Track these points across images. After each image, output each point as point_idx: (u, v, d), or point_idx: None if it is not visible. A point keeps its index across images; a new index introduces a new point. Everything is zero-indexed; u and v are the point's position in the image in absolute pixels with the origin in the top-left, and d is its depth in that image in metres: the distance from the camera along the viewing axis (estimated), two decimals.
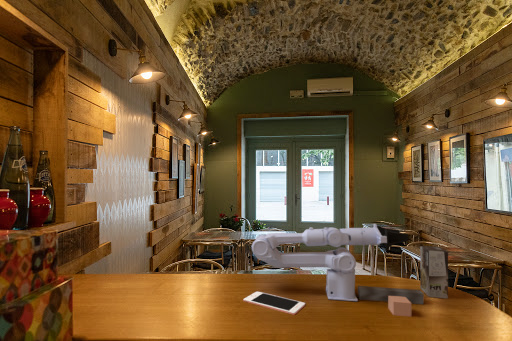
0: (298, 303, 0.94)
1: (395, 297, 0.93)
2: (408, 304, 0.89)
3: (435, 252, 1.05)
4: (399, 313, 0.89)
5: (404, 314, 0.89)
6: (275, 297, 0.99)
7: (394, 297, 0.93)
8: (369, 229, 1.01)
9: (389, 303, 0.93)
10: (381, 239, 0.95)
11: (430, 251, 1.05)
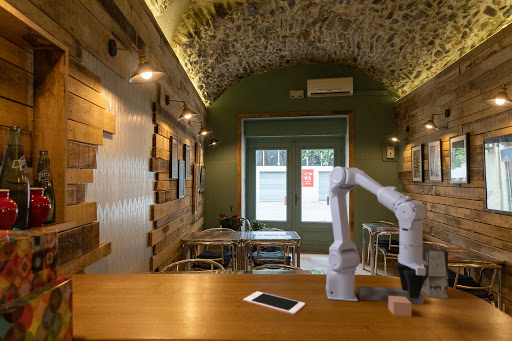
0: (298, 303, 0.94)
1: (395, 297, 0.93)
2: (408, 304, 0.89)
3: (435, 252, 1.05)
4: (399, 313, 0.89)
5: (404, 314, 0.89)
6: (275, 297, 0.99)
7: (394, 297, 0.93)
8: None
9: (389, 303, 0.93)
10: (421, 268, 0.76)
11: (430, 251, 1.05)
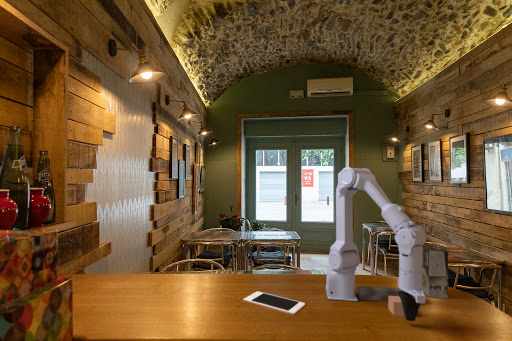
0: (298, 303, 0.94)
1: (395, 297, 0.93)
2: None
3: (435, 252, 1.05)
4: (399, 313, 0.89)
5: None
6: (275, 297, 0.99)
7: (394, 297, 0.93)
8: (421, 281, 0.82)
9: (389, 303, 0.93)
10: (421, 296, 0.76)
11: (430, 251, 1.05)
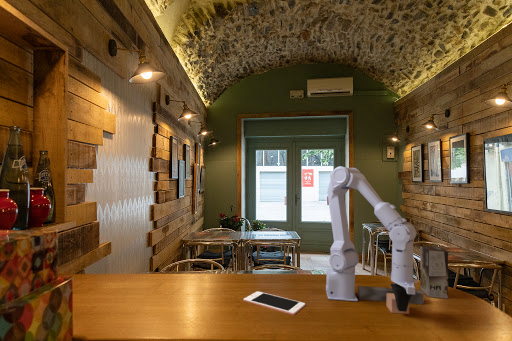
0: (298, 303, 0.94)
1: (393, 294, 0.95)
2: None
3: (435, 252, 1.05)
4: (397, 310, 0.91)
5: (402, 311, 0.90)
6: (275, 297, 0.99)
7: (392, 294, 0.94)
8: (412, 274, 0.88)
9: (387, 301, 0.95)
10: (411, 288, 0.82)
11: (430, 251, 1.05)
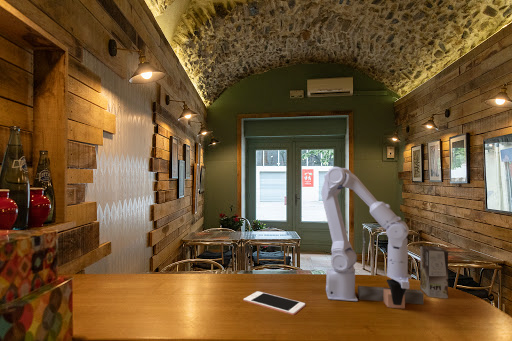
0: (298, 303, 0.94)
1: None
2: None
3: (435, 252, 1.05)
4: (393, 305, 0.94)
5: (398, 306, 0.94)
6: (275, 297, 0.99)
7: (389, 290, 0.98)
8: (407, 270, 0.92)
9: (384, 296, 0.98)
10: (406, 282, 0.87)
11: (430, 251, 1.05)
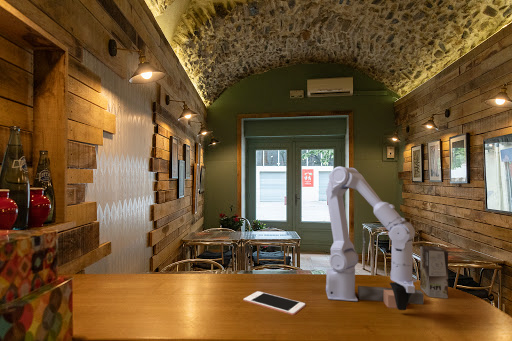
0: (298, 303, 0.94)
1: (390, 291, 0.98)
2: None
3: (435, 252, 1.05)
4: (393, 306, 0.94)
5: None
6: (275, 297, 0.99)
7: (389, 291, 0.98)
8: None
9: (384, 297, 0.98)
10: (411, 287, 0.83)
11: (430, 251, 1.05)
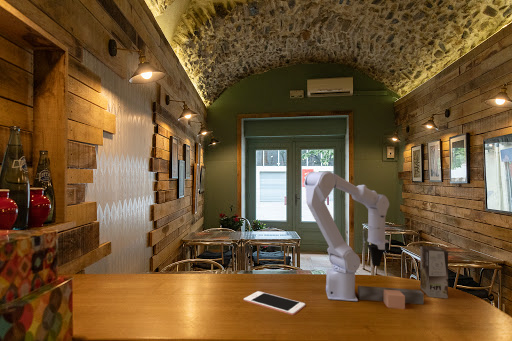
0: (298, 303, 0.94)
1: (390, 291, 0.98)
2: (402, 297, 0.94)
3: (435, 252, 1.05)
4: (393, 306, 0.94)
5: (398, 306, 0.94)
6: (275, 297, 0.99)
7: (389, 291, 0.98)
8: (384, 235, 1.07)
9: (384, 297, 0.98)
10: (382, 244, 1.01)
11: (430, 251, 1.05)
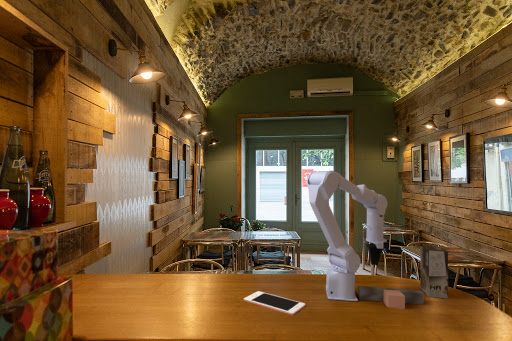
0: (298, 303, 0.94)
1: (390, 291, 0.98)
2: (402, 297, 0.94)
3: (435, 252, 1.05)
4: (393, 306, 0.94)
5: (398, 306, 0.94)
6: (276, 297, 0.99)
7: (389, 291, 0.98)
8: None
9: (384, 297, 0.98)
10: (380, 243, 1.03)
11: (430, 251, 1.05)
